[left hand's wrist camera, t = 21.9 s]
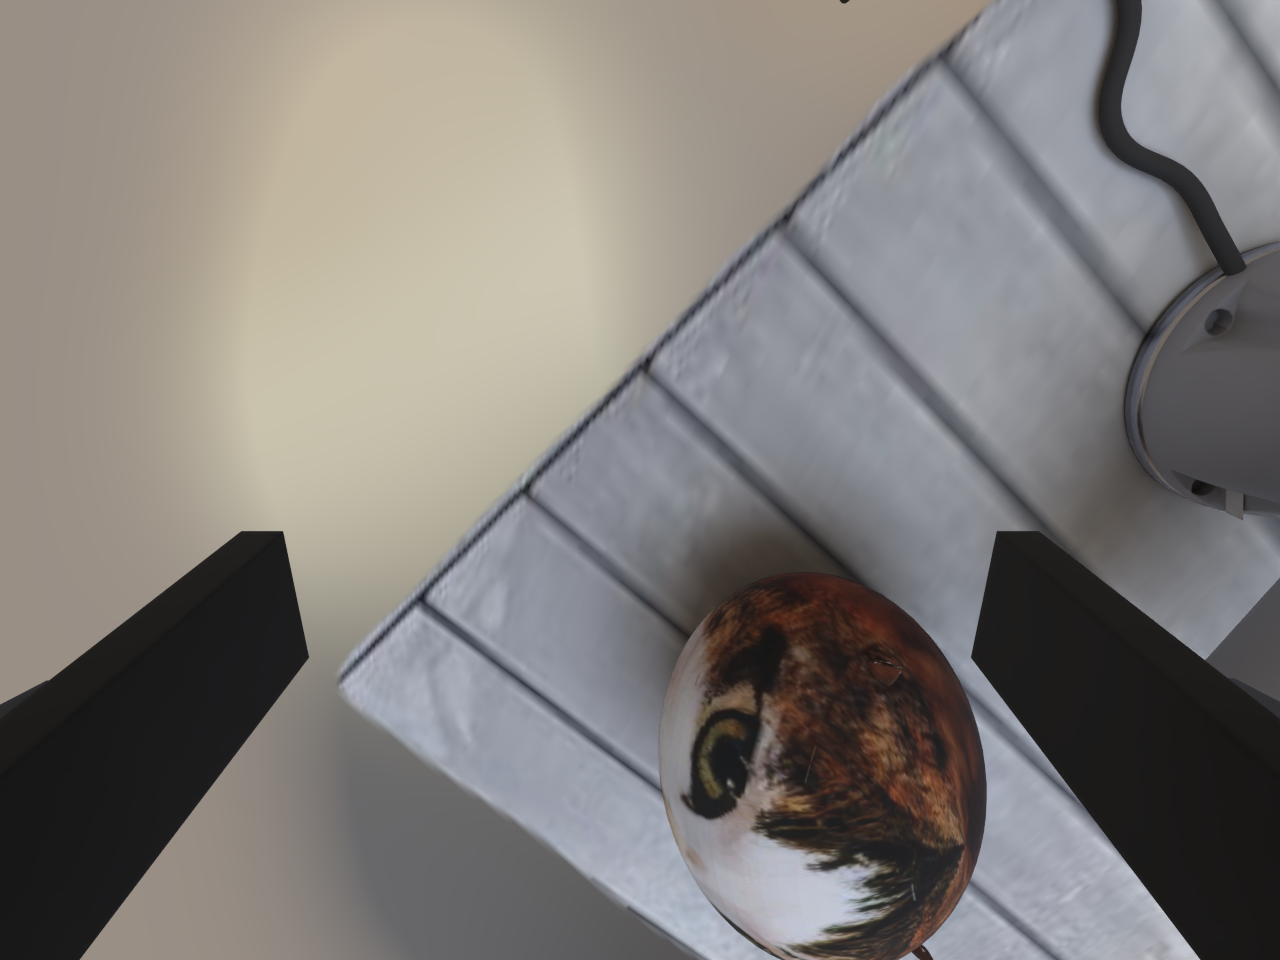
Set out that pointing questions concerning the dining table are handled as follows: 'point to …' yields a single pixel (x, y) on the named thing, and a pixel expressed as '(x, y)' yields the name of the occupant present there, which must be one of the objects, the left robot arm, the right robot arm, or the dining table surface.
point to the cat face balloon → (822, 771)
